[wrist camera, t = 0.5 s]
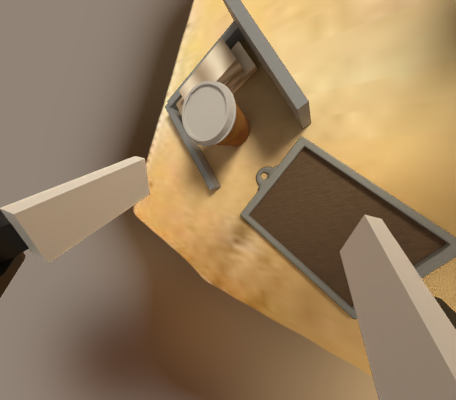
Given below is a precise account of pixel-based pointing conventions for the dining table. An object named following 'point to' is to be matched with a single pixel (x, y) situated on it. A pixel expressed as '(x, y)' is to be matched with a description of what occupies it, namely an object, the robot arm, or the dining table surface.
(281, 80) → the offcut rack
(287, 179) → the empty picture frame
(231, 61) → the offcut stack
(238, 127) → the disposable coffee cup
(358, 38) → the dining table surface
